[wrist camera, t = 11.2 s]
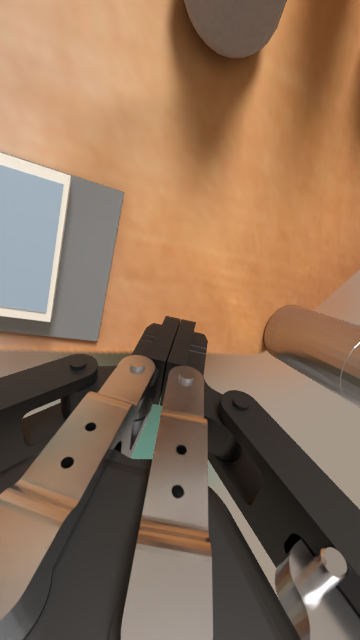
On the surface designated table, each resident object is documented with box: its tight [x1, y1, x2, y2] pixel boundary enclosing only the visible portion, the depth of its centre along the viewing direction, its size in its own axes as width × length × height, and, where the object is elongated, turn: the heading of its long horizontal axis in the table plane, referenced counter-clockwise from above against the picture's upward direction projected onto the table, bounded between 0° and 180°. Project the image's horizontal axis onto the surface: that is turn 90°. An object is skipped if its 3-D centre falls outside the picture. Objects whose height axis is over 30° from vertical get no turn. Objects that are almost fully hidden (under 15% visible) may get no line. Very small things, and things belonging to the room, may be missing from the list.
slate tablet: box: [0, 153, 71, 322], centre depth 27 cm, size 7×3×15 cm
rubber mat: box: [0, 152, 124, 341], centre depth 29 cm, size 18×18×1 cm
